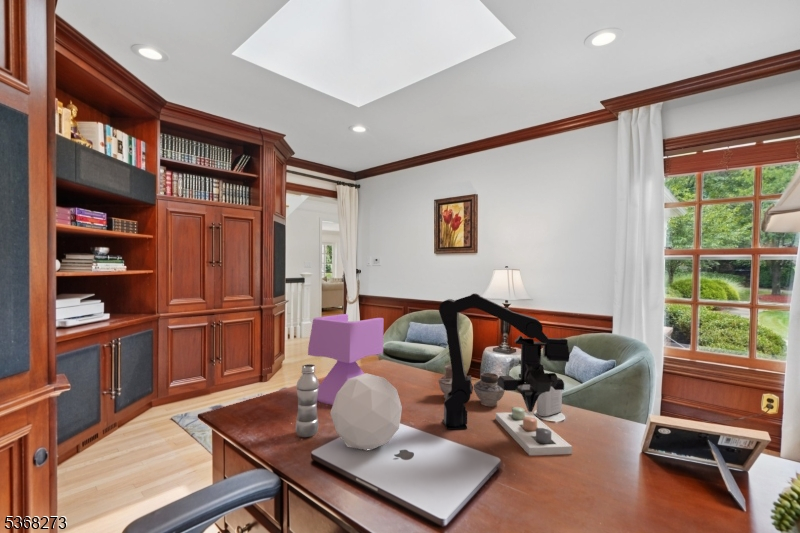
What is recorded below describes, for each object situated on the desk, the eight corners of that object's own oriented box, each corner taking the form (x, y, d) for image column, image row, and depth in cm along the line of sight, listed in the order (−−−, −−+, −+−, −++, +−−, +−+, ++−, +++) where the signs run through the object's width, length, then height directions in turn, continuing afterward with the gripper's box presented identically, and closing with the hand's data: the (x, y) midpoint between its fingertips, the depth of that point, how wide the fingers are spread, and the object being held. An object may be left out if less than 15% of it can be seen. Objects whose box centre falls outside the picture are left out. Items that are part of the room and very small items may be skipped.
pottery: (442, 391, 147) (443, 362, 147) (506, 401, 137) (506, 369, 137) (434, 400, 136) (434, 368, 137) (502, 411, 127) (503, 377, 127)
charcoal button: (540, 445, 99) (540, 434, 99) (533, 438, 103) (533, 428, 103) (554, 445, 99) (554, 434, 99) (546, 438, 103) (546, 427, 103)
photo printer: (552, 408, 131) (552, 373, 131) (563, 412, 127) (564, 376, 128) (534, 413, 125) (535, 377, 126) (545, 418, 122) (546, 381, 122)
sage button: (514, 421, 115) (515, 412, 115) (509, 416, 118) (509, 407, 119) (527, 421, 115) (527, 411, 115) (521, 416, 119) (521, 407, 119)
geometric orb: (377, 478, 96) (387, 438, 84) (315, 440, 102) (316, 397, 90) (407, 421, 111) (419, 380, 99) (352, 390, 116) (357, 348, 105)
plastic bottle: (322, 432, 107) (324, 364, 108) (309, 442, 101) (311, 369, 101) (303, 428, 109) (305, 362, 110) (290, 438, 103) (292, 367, 103)
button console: (529, 455, 96) (529, 447, 96) (495, 418, 120) (495, 412, 120) (572, 453, 98) (572, 446, 98) (530, 418, 121) (530, 412, 121)
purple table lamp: (382, 395, 140) (383, 318, 141) (348, 411, 123) (350, 323, 124) (342, 386, 151) (344, 313, 151) (306, 399, 134) (308, 318, 135)
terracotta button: (526, 432, 107) (526, 422, 107) (520, 426, 111) (520, 417, 111) (539, 432, 107) (539, 422, 107) (533, 426, 111) (533, 416, 111)
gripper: (512, 366, 100) (511, 423, 100) (575, 366, 102) (575, 421, 102) (497, 357, 111) (496, 408, 111) (554, 356, 113) (553, 407, 113)
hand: (529, 411), depth 109 cm, fingers closed
